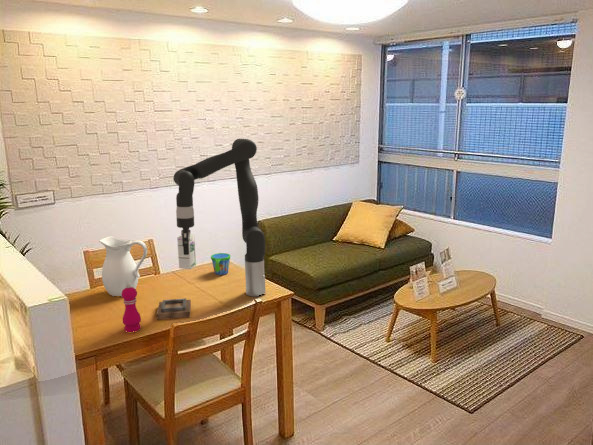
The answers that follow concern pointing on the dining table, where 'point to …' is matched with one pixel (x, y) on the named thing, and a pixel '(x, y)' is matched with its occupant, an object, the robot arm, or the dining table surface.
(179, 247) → the syrup box
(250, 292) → the robot arm
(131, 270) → the pitcher
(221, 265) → the snack cup
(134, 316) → the pepper mill
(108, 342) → the dining table surface
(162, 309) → the plinth
